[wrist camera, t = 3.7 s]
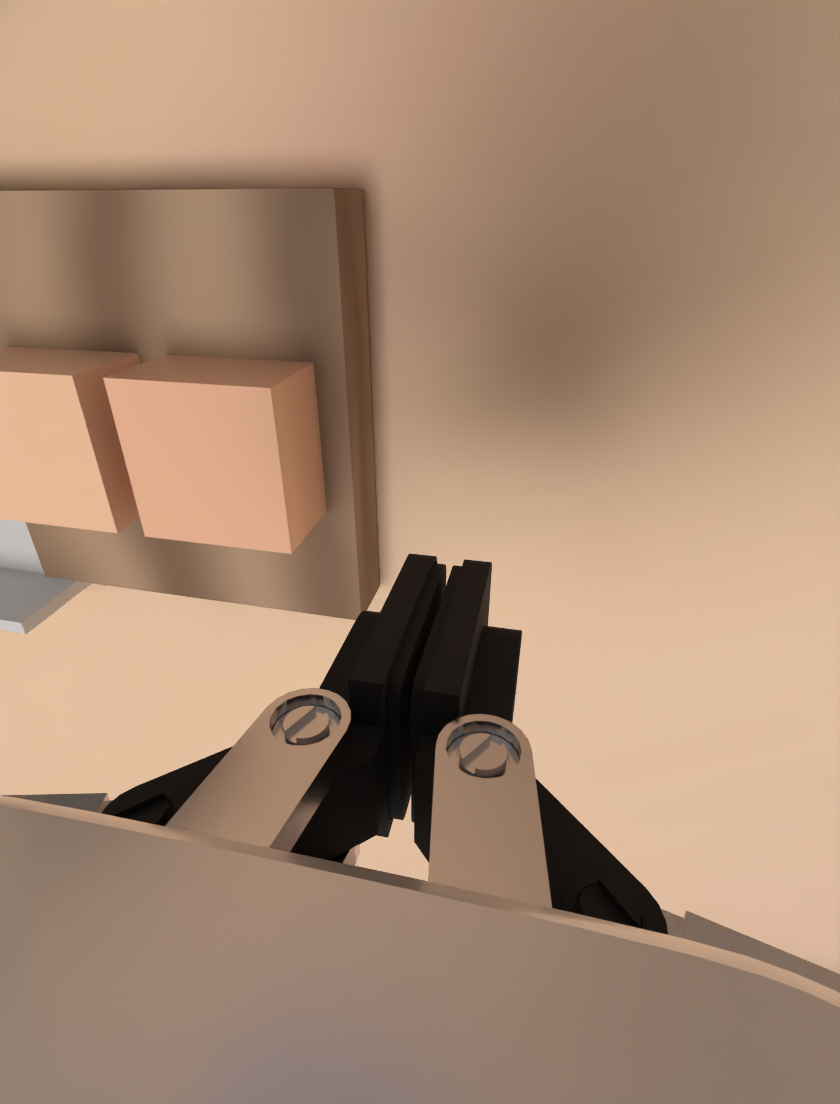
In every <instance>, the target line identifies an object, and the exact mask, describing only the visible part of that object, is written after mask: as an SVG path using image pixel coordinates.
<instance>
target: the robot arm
mask: <svg viewBox="0 0 840 1104" xmlns="http://www.w3.org/2000/svg"><path fill="white" fill-rule="evenodd" d="M491 571H492V563H491V562H482V561H473V560H464V562H463V565H462V566H453V567H452V570H451V573H450V576H449V579H448V582H447V585H446V565H445V564H437V558H436V556H427V555H418V554H409V555H408V557H407V559H406V561H405V563H404V565H403V567H402V569H401V571H400V573H399V575H398V577H397V579H396V581H395V583H394V585H393V587H392V589H391V591H390V594H389V596H388V598H387V600H386V602H385V604H384V606H383V608H382V610H381V612H372V611H362V612H361V613H360V614H359V616H358V617H357V619H356V621H355V623H354V625H353V627H352V629H351V630H350V632H349V634H348V636H347V638H346V640H345V642H344V643H343V645H342V647H341V649H340V651H339V653H338V655H337V656H336V658H335V660H334V662H333V664H332V666H331V667H330V669H329V671H328V673H327V675H326V677H325V679H324V680H323V682H322V684H321V686H320V688H319V689H318V688H309V689H300V690H296V691H292V692H289V693H287V694H285V695H283V696H281V697H279V698H277V699H276V700H275V701H273V702H272V703H271V704H270V705H269V706H268V707H267V708H266V709H265V710H264V711H263V712H262V713H261V715H260V716H259V717H258V718H257V719H256V720H255V722H254V723H253V724H252V725H251V726H250V727H249V729H248V730H247V731H246V732H245V733H244V734H243V736H242V737H241V738H240V739H239V740H238V741H237V743H236V744H235V745H234V746H233V747H230V748H228V749H225V750H223V751H221V752H218V753H216V754H213V755H211V756H209V757H206V758H204V759H201V760H199V761H196V762H194V763H192V764H189V765H187V766H184V767H182V768H179V769H177V770H175V771H172V772H170V773H167V774H165V775H163V776H160V777H158V778H155V779H153V780H150V781H148V782H146V783H143V784H141V785H138V786H136V787H134V788H132V789H130V790H128V791H126V792H125V793H123V794H121V795H119V796H118V797H117V798H116V799H114V800H113V801H110V800H109V797H108V794H107V793H95V794H48V795H2V796H0V1104H840V974H838V973H835V972H833V971H830V970H828V969H826V968H823V967H821V966H818V965H816V964H814V963H811V962H809V961H806V960H804V959H801V958H799V957H797V956H794V955H792V954H789V953H787V952H785V951H782V950H780V949H777V948H775V947H773V946H770V945H768V944H765V943H763V942H761V941H758V940H756V939H753V938H751V937H749V936H746V935H744V934H741V933H739V932H736V931H734V930H732V929H729V928H727V927H724V926H722V925H720V924H717V923H715V922H712V921H710V920H708V919H705V918H703V917H700V916H698V915H696V914H693V913H691V912H688V911H685V914H684V917H683V918H682V917H679V916H677V915H675V914H672V913H670V912H667V911H665V910H663V909H660V906H659V904H658V903H657V901H656V900H655V899H654V898H653V896H652V895H651V894H650V893H649V891H648V890H647V889H646V888H645V887H644V886H643V885H642V884H641V883H640V882H639V881H638V880H637V879H636V878H635V877H634V876H633V875H632V874H631V873H630V872H629V871H628V870H627V869H626V868H625V867H624V866H623V865H622V864H621V863H620V862H619V861H618V860H617V859H616V858H615V857H614V856H613V855H612V854H611V853H610V852H609V851H608V850H607V849H606V848H605V847H604V846H603V845H602V844H601V843H600V842H599V841H598V840H597V839H596V838H595V837H594V836H593V835H592V834H591V833H590V832H589V831H588V830H587V829H586V828H585V827H584V826H583V825H582V824H581V823H580V822H579V821H578V820H577V819H576V818H575V817H574V816H573V815H572V814H571V813H570V812H569V811H568V810H567V809H566V808H565V807H564V806H563V805H562V804H561V803H560V802H559V801H558V800H557V799H556V798H555V797H554V796H553V795H552V794H551V793H550V792H549V791H548V790H547V789H546V788H545V787H544V786H543V785H542V784H541V783H540V782H539V781H538V780H537V779H536V778H535V771H534V763H533V755H532V749H531V746H530V743H529V740H528V738H527V737H526V736H525V735H524V733H523V732H522V731H521V730H520V729H519V728H518V727H516V726H515V725H514V724H512V720H513V712H514V703H515V694H516V685H517V675H518V666H519V656H520V647H521V637H522V631H521V630H513V629H505V628H497V627H490V626H488V614H489V600H490V586H491ZM410 796H411V818H412V822H414V842H415V843H416V845H417V846H418V848H419V849H420V851H421V852H422V853H423V855H424V856H425V858H426V859H427V861H428V862H429V877H428V881H424V880H419V879H414V878H410V877H405V876H400V875H396V874H391V873H386V872H381V871H377V870H372V869H367V868H362V867H358V866H355V864H356V861H357V858H358V855H359V852H360V845H359V844H361V843H363V842H364V841H366V840H368V839H370V838H372V837H374V836H375V835H378V836H383V837H388V835H389V832H390V829H391V825H392V822H393V819H394V818H395V819H400V820H403V819H404V817H405V814H406V811H407V807H408V803H409V800H410Z"/></svg>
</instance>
